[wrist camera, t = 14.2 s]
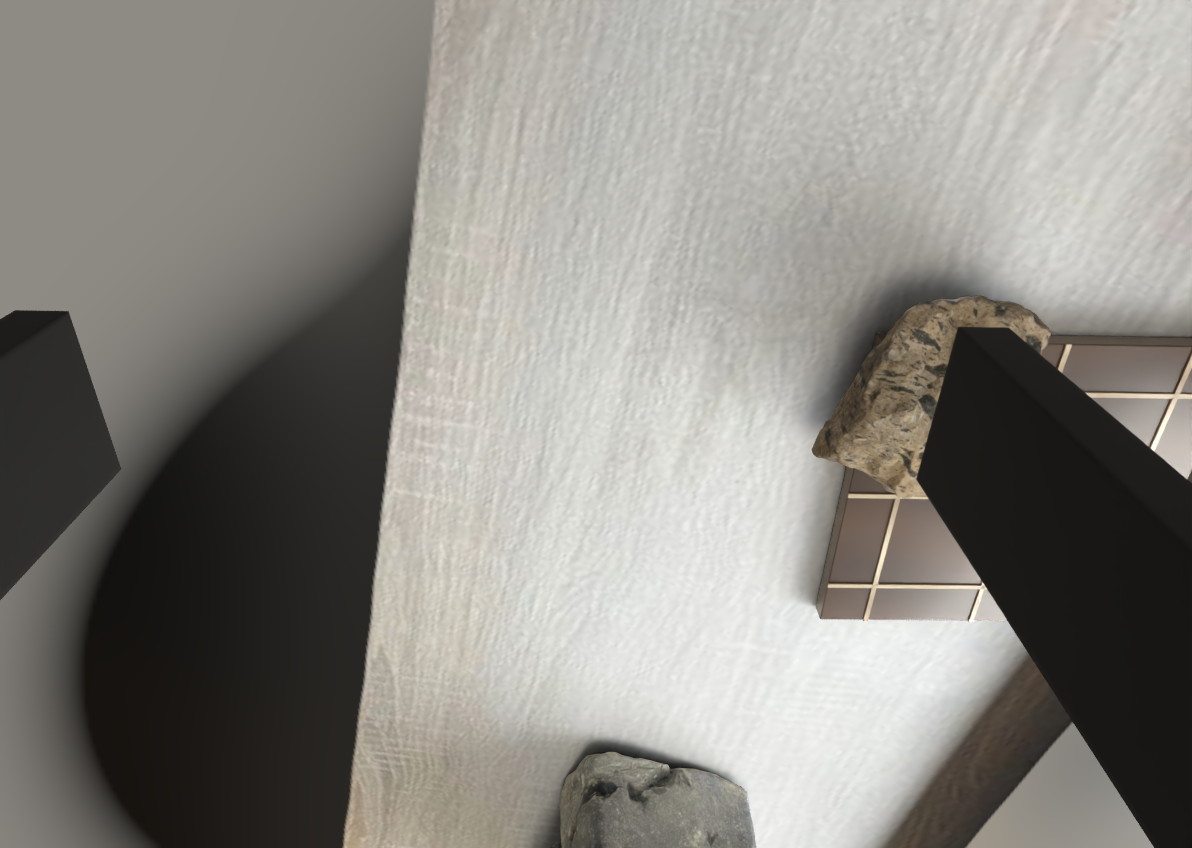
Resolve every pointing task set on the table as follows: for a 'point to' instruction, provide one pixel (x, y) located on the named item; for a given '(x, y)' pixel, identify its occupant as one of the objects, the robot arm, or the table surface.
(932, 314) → the rock
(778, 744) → the table surface
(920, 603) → the grid board
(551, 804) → the table surface
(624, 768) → the grey broken concrete chunk
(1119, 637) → the robot arm
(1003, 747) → the table surface
